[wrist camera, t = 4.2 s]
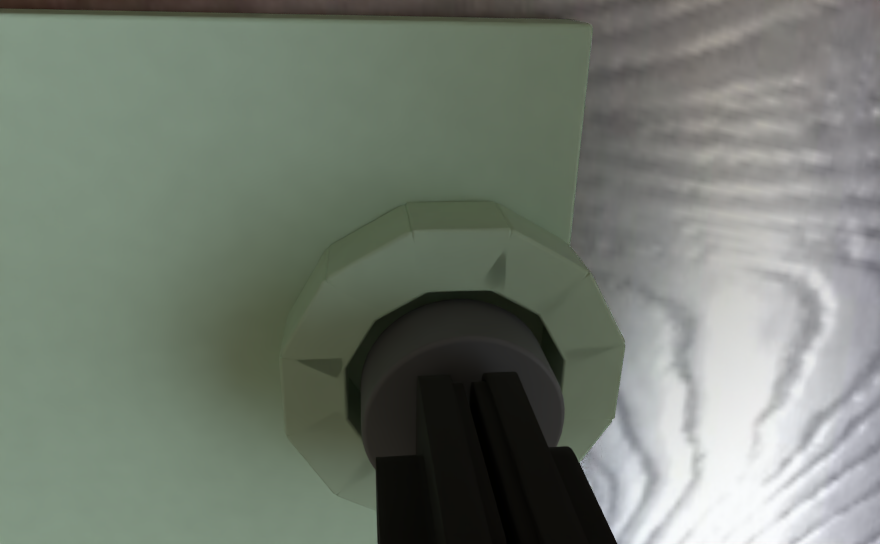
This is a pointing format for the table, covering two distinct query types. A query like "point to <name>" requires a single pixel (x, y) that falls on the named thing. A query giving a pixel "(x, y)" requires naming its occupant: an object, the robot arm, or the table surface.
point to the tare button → (449, 369)
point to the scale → (266, 254)
